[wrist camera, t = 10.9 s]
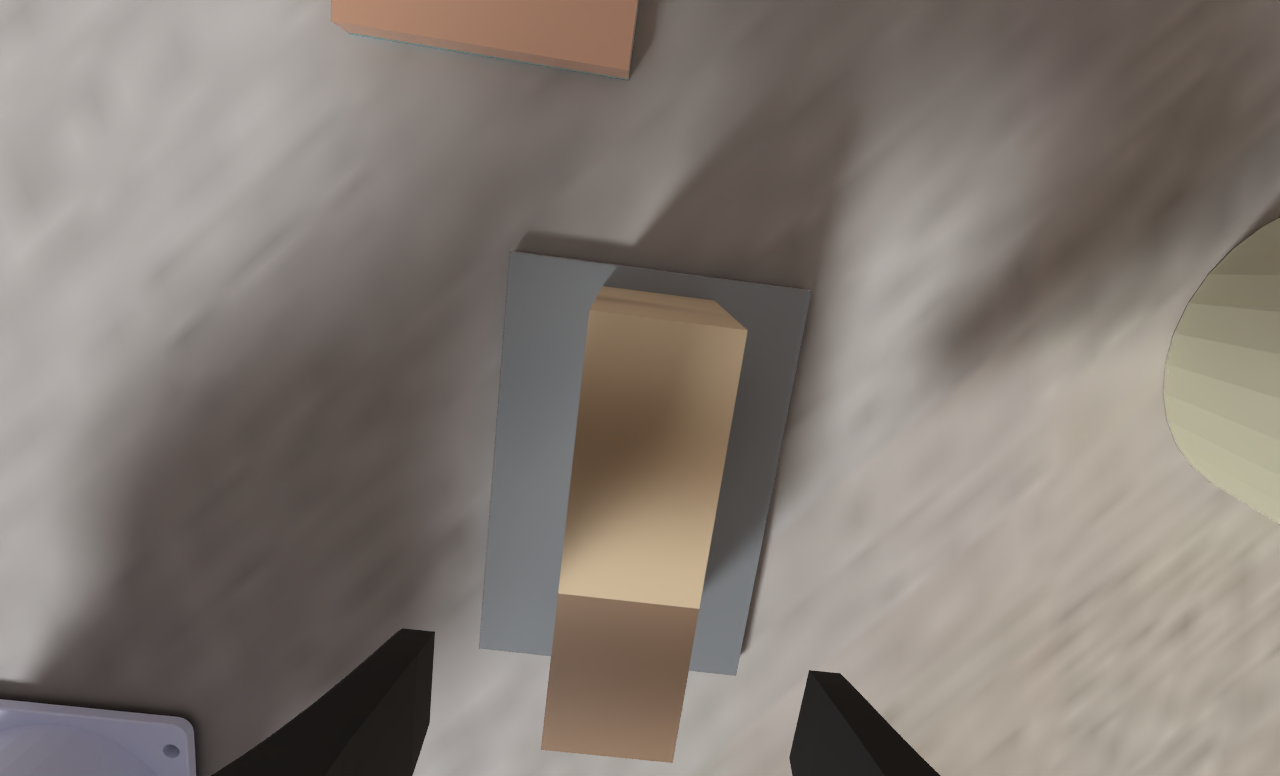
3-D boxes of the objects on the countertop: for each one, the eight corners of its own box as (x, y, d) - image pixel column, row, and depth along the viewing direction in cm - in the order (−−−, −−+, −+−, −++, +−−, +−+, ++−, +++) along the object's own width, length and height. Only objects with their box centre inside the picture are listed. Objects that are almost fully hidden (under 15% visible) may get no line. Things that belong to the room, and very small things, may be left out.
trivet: (733, 662, 20) (736, 675, 20) (483, 636, 20) (478, 648, 19) (805, 289, 17) (811, 291, 17) (514, 250, 17) (510, 251, 16)
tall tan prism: (662, 627, 19) (672, 762, 14) (564, 616, 19) (541, 749, 14) (714, 300, 17) (747, 330, 12) (602, 286, 17) (589, 310, 12)
